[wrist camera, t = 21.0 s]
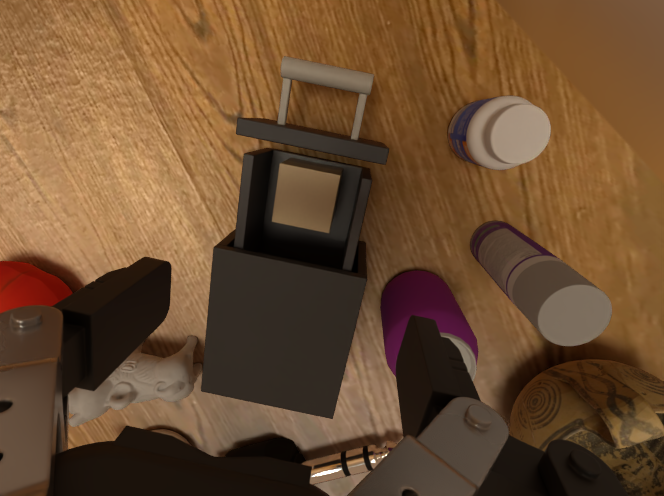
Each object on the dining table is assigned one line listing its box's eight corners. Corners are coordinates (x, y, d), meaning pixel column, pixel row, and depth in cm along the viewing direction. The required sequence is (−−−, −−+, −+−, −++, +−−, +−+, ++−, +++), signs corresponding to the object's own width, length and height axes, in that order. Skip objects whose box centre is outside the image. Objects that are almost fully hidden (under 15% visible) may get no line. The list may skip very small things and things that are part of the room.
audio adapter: (195, 483, 44) (392, 433, 39) (212, 446, 49) (389, 397, 44) (236, 543, 47) (424, 503, 42) (248, 502, 52) (417, 462, 48)
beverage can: (365, 294, 40) (367, 361, 29) (423, 253, 38) (449, 308, 27) (407, 341, 42) (424, 423, 30) (465, 305, 40) (506, 377, 28)
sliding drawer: (270, 60, 33) (244, 42, 25) (396, 86, 32) (407, 75, 25) (247, 251, 39) (221, 281, 31) (353, 273, 39) (351, 308, 31)
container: (525, 247, 37) (627, 325, 23) (484, 272, 38) (556, 360, 24) (503, 211, 36) (594, 268, 22) (461, 237, 37) (522, 308, 23)
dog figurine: (104, 332, 45) (29, 393, 34) (206, 333, 43) (158, 396, 33) (114, 368, 46) (45, 437, 36) (212, 370, 45) (169, 441, 35)
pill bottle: (436, 146, 35) (463, 155, 26) (466, 90, 33) (507, 77, 24) (486, 171, 35) (530, 188, 26) (519, 117, 33) (579, 115, 24)
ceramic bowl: (663, 443, 44) (809, 597, 30) (521, 480, 47) (590, 634, 33) (620, 288, 38) (775, 387, 24) (461, 343, 41) (513, 459, 27)
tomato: (-21, 300, 44) (-106, 340, 36) (23, 229, 41) (-59, 255, 33) (68, 363, 46) (7, 414, 38) (118, 301, 43) (62, 343, 35)
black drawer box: (248, 217, 38) (213, 247, 29) (365, 242, 38) (367, 279, 29) (234, 335, 43) (200, 391, 34) (338, 357, 43) (332, 419, 34)
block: (290, 157, 34) (279, 162, 29) (343, 167, 34) (340, 175, 29) (283, 208, 36) (271, 221, 31) (333, 219, 36) (329, 233, 31)
